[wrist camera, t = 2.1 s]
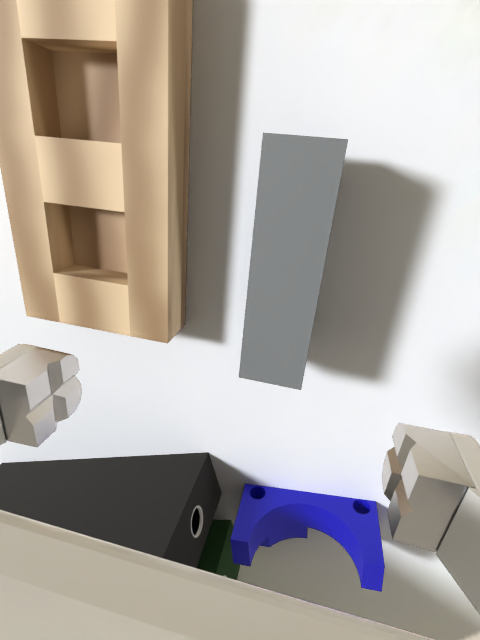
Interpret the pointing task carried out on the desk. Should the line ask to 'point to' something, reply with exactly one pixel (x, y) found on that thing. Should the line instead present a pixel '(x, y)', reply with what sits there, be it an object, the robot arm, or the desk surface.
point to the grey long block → (288, 253)
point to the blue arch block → (314, 512)
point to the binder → (129, 504)
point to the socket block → (98, 159)
